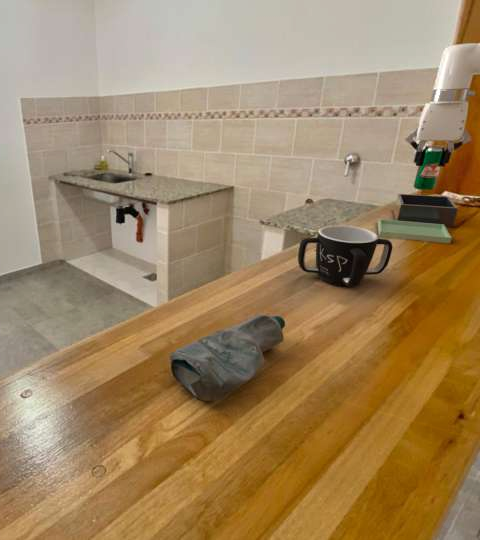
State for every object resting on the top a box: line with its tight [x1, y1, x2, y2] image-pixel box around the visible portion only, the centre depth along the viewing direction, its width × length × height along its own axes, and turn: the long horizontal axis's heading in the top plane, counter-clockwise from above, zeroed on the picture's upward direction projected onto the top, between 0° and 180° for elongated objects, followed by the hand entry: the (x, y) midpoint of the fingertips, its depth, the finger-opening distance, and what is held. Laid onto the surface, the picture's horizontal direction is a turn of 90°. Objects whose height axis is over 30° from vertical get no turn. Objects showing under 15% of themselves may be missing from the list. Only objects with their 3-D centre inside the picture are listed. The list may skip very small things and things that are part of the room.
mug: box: [297, 225, 394, 288], centre depth 91 cm, size 16×16×12 cm
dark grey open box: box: [393, 193, 459, 229], centre depth 129 cm, size 15×16×6 cm
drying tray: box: [377, 218, 452, 244], centre depth 118 cm, size 17×13×2 cm
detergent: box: [169, 313, 286, 401], centre depth 65 cm, size 13×7×25 cm
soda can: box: [413, 145, 446, 191], centre depth 110 cm, size 5×5×12 cm
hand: (429, 165), depth 110 cm, fingers closed on soda can, 5 cm apart
